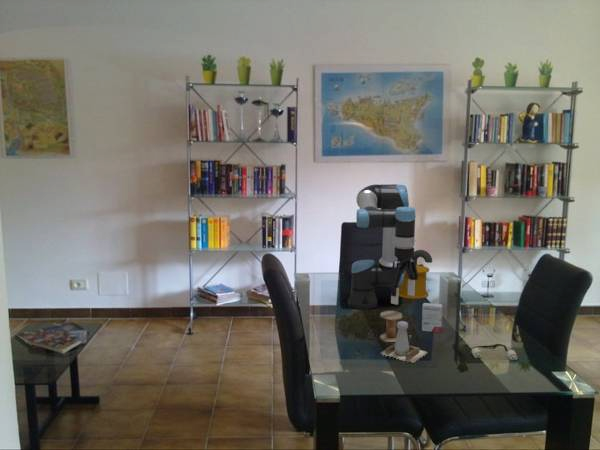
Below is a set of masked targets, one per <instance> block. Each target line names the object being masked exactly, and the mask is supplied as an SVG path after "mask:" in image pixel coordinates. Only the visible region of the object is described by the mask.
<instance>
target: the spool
mask: <svg viewBox="0 0 600 450" xmlns="http://www.w3.org/2000/svg"><path fill="white" fill-rule="evenodd" d="M419 265H420V264H417V265H416V268H417V273H418V279H417V280H415V296H410V295H408V279H409V277H408V274H407V272H406V271H405V275H404V280H403V283H402V284H401V285H400V286H398V287H397V288H399V291H398V297H400V298H403V299H413V300H414V299H415V300H417V299H418V300H419V299H425V298H428V297H429V292H428V291H427V273H428V272H430V268H429V267H428V266H424V265H423V266H419ZM414 274H415V273H414Z"/></svg>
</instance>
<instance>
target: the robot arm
mask: <svg viewBox="0 0 600 450" xmlns="http://www.w3.org/2000/svg"><path fill="white" fill-rule="evenodd" d="M409 200H410V199H409V192H408V188H407V186H406V185H404V184H398V183H396V184H391V183H390V184H371V185H370V184H369V185H367V186H365V187H364V188H362V189H361V190H359V192H358V193H357V196H356V204H357V206H358V207H359V209H357V210H356V218H355V219H356V222H355V223H356V227H358V228H365V229H366V228H367V229H368V228H372V229H373V228H376V229H378V228H379V229H380V228H383V229H382V253H381V254H382V255H381V258H379V260H378V262H375V260H374V259H360V260H357V261H354V262H353V263H352V264H351V270H350V273H351V287H350V288H351V291H350V293H349V296H348V299H347V305H348V306H349V307H350V308H352V309H357V310H358V309H359V310H370V309H375V308H376V307H378V299H377V296H376V293H375V287H376V286H377V287H387V288H390V289H391V290H390V291H391V294H390V304H393V305H399V296H398V291H399V288H398V286H400V285H401V284H402V283H403V280H404V275H405V271H406V272H407V274H408V277H409V279H408V295H410V296H415V280H417V279H418V273H417V268H416V264H415V257H414V252H415V248H414V247H415V242H416V240H415V237H416V236H415V234H416V233H415V231H416V218H417V217H416V209H415V208H414V207H411V206H410V201H409ZM414 273H415V274H414Z"/></svg>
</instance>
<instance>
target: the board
mask: <svg viewBox="0 0 600 450" xmlns="http://www.w3.org/2000/svg"><path fill="white" fill-rule="evenodd" d="M394 346H395V343H392V345H390V346H388V347H387V348H385V349H384V350H383V351H381V352H380V355H381V354H382V355H381V356H384V355H385V356H384V357H387V356H389V357H388V358H391V357H393V358H392V359H394V358H396V359H395V360H398V359H399V360H398V361H401V360H402V361H401V362H405V361H407V362H406V363H408V362H411V363H410V364H412V363H414V362H415V363H417V362H418V361H420V360H421V359H422V358H423V356H424V357H425V356H426V354H427V355H428V351H426V350H422V349H420V347H417V346H413V345H410V344H409V348H410V349H409V352H408V354H406V355H405V356H399V355H397V354H396V352H395V349H394ZM420 358H421V359H420ZM419 359H420V360H419ZM417 360H418V361H417ZM416 361H417V362H416ZM415 363H414V364H415Z"/></svg>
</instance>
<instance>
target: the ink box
mask: <svg viewBox="0 0 600 450" xmlns="http://www.w3.org/2000/svg"><path fill="white" fill-rule="evenodd" d="M421 310H422V311H421V331H422V332H430V333H431V332H432V333H442V331H443V303H431V302H430V303H428V302H423V304H422V308H421Z"/></svg>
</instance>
